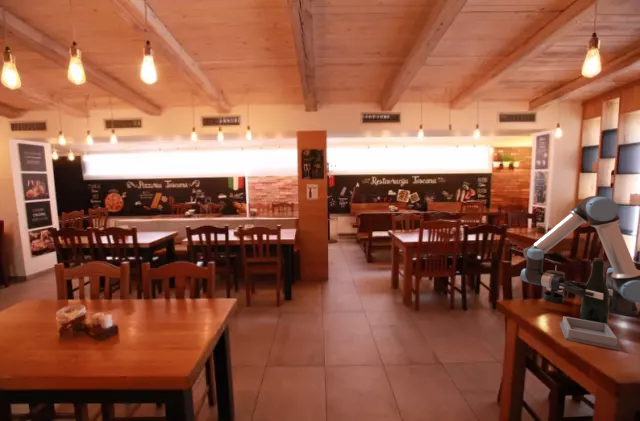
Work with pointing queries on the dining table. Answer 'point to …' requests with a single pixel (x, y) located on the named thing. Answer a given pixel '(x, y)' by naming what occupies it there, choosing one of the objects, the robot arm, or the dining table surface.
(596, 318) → the beer bottle
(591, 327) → the bottle stand
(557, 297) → the french press
